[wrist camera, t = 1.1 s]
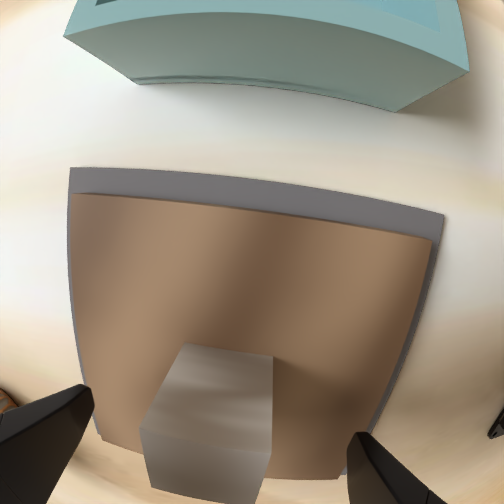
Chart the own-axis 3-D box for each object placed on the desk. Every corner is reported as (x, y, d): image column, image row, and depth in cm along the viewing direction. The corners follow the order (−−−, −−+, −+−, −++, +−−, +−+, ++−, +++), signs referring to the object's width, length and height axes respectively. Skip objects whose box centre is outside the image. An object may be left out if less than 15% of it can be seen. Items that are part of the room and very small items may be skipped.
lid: (419, 235, 10) (519, 278, 4) (335, 466, 13) (347, 544, 7) (86, 192, 10) (-22, 205, 5) (109, 429, 13) (69, 494, 8)
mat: (439, 213, 10) (444, 214, 9) (344, 469, 13) (345, 474, 13) (75, 167, 10) (70, 167, 10) (100, 430, 14) (98, 434, 13)
